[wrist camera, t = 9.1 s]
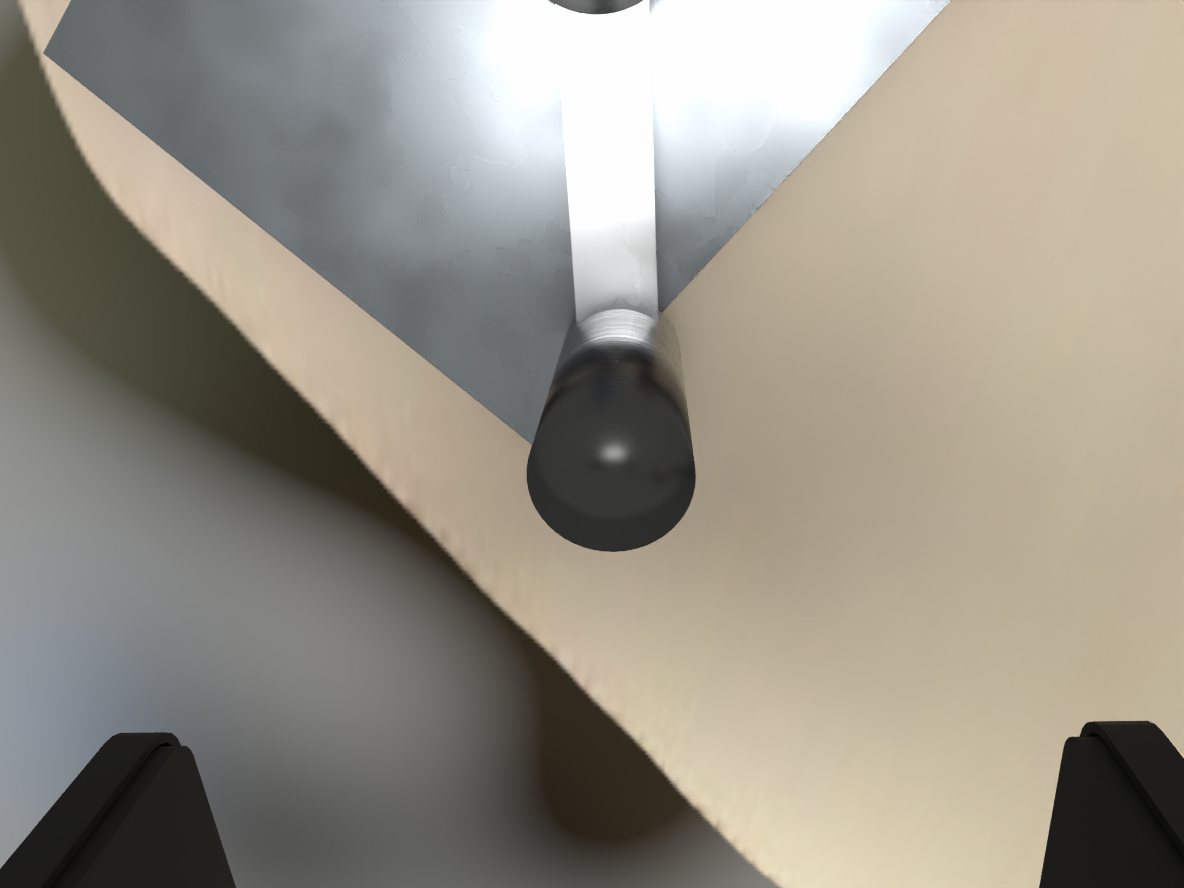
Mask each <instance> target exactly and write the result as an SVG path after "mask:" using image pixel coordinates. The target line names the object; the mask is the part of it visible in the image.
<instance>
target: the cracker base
mask: <svg viewBox="0 0 1184 888" xmlns="http://www.w3.org/2000/svg"><path fill="white" fill-rule="evenodd" d="M950 1H951V0H651V1H650V2H649V29H650V63H651V96H652V130H653V163H654V197H655V230H656V264H657V297H658V310H659V311H660V312H661V313H662V311H663V310H664V309H665V308H666V307H667V306H668V305H669V304H670V303H671V302H672V301H673V300H674V299H675V297H676V296H677V295H678V294H679V293H680V292H681V291H682V290H683V289H684V288H685V287H686V286H687V285H688V283H689V282H690V281H691V280H692V279H693V278H694V277H695V276H696V275H697V274H698V273H699V272H700V270H701V269H702V268H703V267H704V266H705V265H706V264H707V263H708V262H709V261H710V260H711V259H712V258H713V256H714V255H715V254H716V253H717V252H718V251H719V250H720V249H721V248H722V247H723V246H724V245H725V244H726V242H727V241H728V240H729V239H730V238H731V237H732V236H733V235H734V234H735V233H736V232H737V231H738V229H739V228H740V227H741V226H742V225H743V224H744V223H745V222H746V221H747V220H748V219H749V218H750V217H751V215H752V214H753V213H754V212H755V211H756V210H757V209H758V208H759V207H760V206H761V205H762V204H763V202H764V201H765V200H766V199H767V198H768V197H769V196H770V195H771V194H772V193H773V192H774V191H775V190H776V188H777V187H778V186H779V185H780V184H781V183H782V182H783V181H784V180H785V179H786V178H787V177H788V176H789V174H790V173H791V172H792V171H793V170H794V169H795V168H796V167H797V166H798V165H799V164H800V163H801V161H802V160H803V159H804V158H805V157H806V156H807V155H808V154H809V153H810V152H811V151H812V150H813V149H814V147H815V146H816V145H817V144H818V143H819V142H820V141H821V140H822V139H823V138H824V137H825V136H826V135H827V133H828V132H829V131H830V130H831V129H832V128H833V127H834V126H835V125H836V124H837V123H838V122H839V120H840V119H841V118H842V117H843V116H844V115H845V114H846V113H847V112H848V111H849V110H850V109H851V108H852V106H853V105H854V104H855V103H856V102H857V101H858V100H859V99H860V98H861V97H862V96H863V95H864V94H865V92H866V91H867V90H868V89H869V88H870V87H871V86H872V85H873V84H874V83H875V82H876V81H877V79H878V78H879V77H880V76H881V75H882V74H883V73H884V72H885V71H886V70H887V69H888V68H889V67H890V65H891V64H892V63H893V62H894V61H895V60H896V59H897V58H898V57H899V56H900V55H901V54H902V52H903V51H904V50H905V49H906V48H907V47H908V46H909V45H910V44H911V43H912V42H913V41H914V40H915V38H916V37H917V36H918V35H919V34H920V33H921V32H922V31H923V30H924V29H925V28H926V27H927V26H928V24H929V23H930V22H931V21H932V20H933V19H934V18H935V17H936V16H937V15H938V14H939V13H940V11H941V10H942V9H943V8H944V7H945V6H946V5H947V4H948V3H949V2H950ZM44 54H45V55H46V56H47V57H49V58H50V59H51V60H52V61H54V62H55V63H56V64H57V65H59V66H60V67H61V68H62V69H64V70H65V71H66V72H67V73H69V74H70V75H71V76H72V77H74V78H75V79H76V80H77V81H79V82H80V83H81V84H82V85H84V86H85V87H86V88H87V89H89V90H90V91H91V92H92V93H94V94H95V95H96V96H97V97H99V98H100V99H101V100H102V101H104V102H105V103H106V104H107V105H109V106H110V107H111V108H112V109H114V110H115V111H116V112H117V113H119V114H120V115H121V116H122V117H124V118H125V119H126V120H127V121H129V122H130V123H131V124H132V125H134V126H135V127H136V128H137V129H139V130H140V131H141V132H142V133H144V134H145V135H146V136H147V137H149V138H150V139H151V140H152V141H154V142H155V143H156V144H157V145H159V146H160V147H161V148H162V149H164V150H165V151H166V152H167V153H169V154H170V155H171V156H172V157H174V158H175V159H176V160H177V161H178V162H180V163H181V164H182V165H183V166H185V167H186V168H187V169H188V170H190V171H191V172H192V173H193V174H195V175H196V176H197V177H198V178H200V179H201V180H202V181H203V182H205V183H206V184H207V185H208V186H210V187H211V188H212V189H213V190H215V191H216V192H217V193H218V194H220V195H221V196H222V197H223V198H225V199H226V200H227V201H228V202H230V203H231V204H232V205H233V206H235V207H236V208H237V209H238V210H240V211H241V212H242V213H243V214H245V215H246V216H247V217H248V218H250V219H251V220H252V221H253V222H255V223H256V224H257V225H258V226H260V227H261V228H262V229H263V230H265V231H266V232H267V233H268V234H270V235H271V236H272V237H273V238H275V239H276V240H277V241H278V242H280V243H281V244H282V245H283V246H285V247H286V248H287V249H288V250H290V251H291V252H292V253H293V254H295V255H296V256H297V257H298V258H300V259H301V260H302V261H303V262H305V263H306V264H307V265H308V266H310V267H311V268H312V269H313V270H315V271H316V272H317V273H318V274H320V275H321V276H322V277H323V278H325V279H326V280H327V281H328V282H330V283H331V284H332V285H333V286H335V287H336V288H337V289H338V290H340V291H341V292H342V293H343V294H345V295H346V296H347V297H348V298H350V299H351V300H352V301H353V302H355V303H356V304H357V305H358V306H360V307H361V308H362V309H363V310H365V311H366V312H367V313H368V314H370V315H371V316H372V317H373V318H375V319H376V320H377V321H378V322H380V323H381V324H382V325H383V326H385V327H386V328H387V329H388V330H390V331H391V332H392V333H393V334H395V335H396V336H397V337H398V338H400V339H401V340H402V341H403V342H405V343H406V344H407V345H408V346H410V347H411V348H412V349H413V350H415V351H416V352H417V353H418V354H420V355H421V356H422V357H423V358H425V359H426V360H427V361H428V362H430V363H431V364H432V365H433V366H435V367H436V368H437V369H438V370H440V371H441V372H442V373H443V374H445V375H446V376H447V377H448V378H449V379H451V380H452V381H453V382H454V383H456V384H457V385H458V386H459V387H461V388H462V389H463V390H464V391H466V392H467V393H468V394H469V395H471V396H472V397H473V398H474V399H476V400H477V401H478V402H479V403H481V404H482V405H483V406H484V407H486V408H487V409H488V410H489V411H491V412H492V413H493V414H494V415H496V416H497V417H498V418H499V419H501V420H502V421H503V422H504V423H506V424H507V425H508V426H509V427H511V428H512V429H513V430H514V431H516V432H517V433H518V434H519V435H521V436H522V437H523V438H524V439H526V440H527V441H528V442H529V443H531V444H533V441H534V438H535V435H536V431H537V428H538V425H539V421H540V418H541V415H542V412H543V408H544V405H545V402H546V398H547V395H548V392H549V389H550V385H551V382H552V379H553V375H554V372H555V369H556V365H557V362H558V359H559V356H560V352H561V349H562V346H563V342H564V339H565V336H566V333H567V331H568V329H569V327H570V325H571V324H572V322H573V321H574V319H575V318H576V305H575V290H574V275H573V260H572V245H571V231H570V216H569V201H568V186H567V172H566V157H565V142H564V127H563V112H562V98H561V83H560V68H559V53H558V38H557V24H556V9H555V5H554V4H552V3H551V2H550V1H549V0H71V2H70V4H69V6H68V8H67V9H66V11H65V13H64V15H63V17H62V19H61V21H60V23H59V24H58V26H57V28H56V30H55V32H54V34H53V36H52V38H51V40H50V41H49V43H48V45H47V47H46V49H45V51H44Z"/></svg>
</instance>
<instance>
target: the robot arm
mask: <svg viewBox="0 0 1184 888" xmlns="http://www.w3.org/2000/svg"><path fill="white" fill-rule="evenodd" d="M0 888H236V887H235V883H234V880H233V877H232V874H231V871H230V868H229V865H228V862H227V859H226V855H225V852H224V849H223V846H222V843H221V840H220V837H219V834H218V830H217V828H216V824H215V821H214V818H213V815H212V812H211V809H210V806H209V802H208V799H207V796H206V793H205V790H204V787H203V784H202V780H201V778H200V774H199V771H198V768H197V765H196V762H195V759H194V755H193V753H192V752H191V750H190V749H189V748H188V747H187V746H181V745H180V743H179V741H178V739H177V737H175V736H174V735H173V734H172V733H165V732H164V733H119V734H116V735H114V736H112V737H111V738H110V739H109V740H108V741H107V742H106V743H105V744H104V745H103V746H102V747H101V748H100V750H99V751H98V752H97V753H96V754H95V756H94V757H93V758H92V759H91V760H90V762H89V763H88V764H87V765H86V766H85V768H84V769H83V770H82V771H81V772H80V774H79V775H78V776H77V777H76V779H75V780H74V781H73V782H72V783H71V784H70V786H69V787H68V788H67V789H66V790H65V792H64V793H63V794H62V795H61V797H60V798H59V799H58V800H57V801H56V803H55V804H54V805H53V806H52V807H51V809H50V810H49V811H48V812H47V813H46V815H45V816H44V817H43V818H42V819H41V821H40V822H39V823H38V824H37V825H36V827H35V828H34V829H33V830H32V832H31V833H30V834H29V835H28V836H27V837H26V839H25V840H24V841H23V842H22V843H21V845H20V846H19V847H18V848H17V849H16V851H15V852H14V853H13V854H12V855H11V857H10V858H9V859H8V860H7V861H6V863H5V864H4V865H3V866H2V868H1V869H0ZM1039 888H1184V758H1183V757H1182V756H1181V755H1180V753H1179V752H1178V751H1177V749H1176V748H1175V747H1174V746H1173V744H1172V743H1171V742H1170V740H1169V739H1168V738H1167V737H1166V735H1165V734H1164V733H1163V732H1162V731H1161V730H1160V729H1159V728H1158V727H1157V726H1156V725H1155V724H1153V723H1151V722H1149V721H1101V722H1088V723H1086V724H1085V725H1084V727H1083V728H1082V731H1081V734H1080V737H1069V738H1068V739H1067V740H1066V742H1065V745H1064V749H1063V755H1062V760H1061V766H1060V772H1059V778H1058V783H1057V789H1056V795H1055V800H1054V806H1053V812H1052V818H1051V823H1050V829H1049V835H1048V840H1047V846H1046V852H1045V858H1044V863H1043V869H1042V875H1041V881H1040V886H1039Z"/></svg>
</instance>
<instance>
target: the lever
mask: <svg viewBox="0 0 1184 888" xmlns="http://www.w3.org/2000/svg"><path fill="white" fill-rule="evenodd" d="M549 1H550V2H551V3H552V4H554V5H555V9H556V24H557V38H558V53H559V68H560V83H561V98H562V112H563V127H564V142H565V157H566V172H567V186H568V201H569V216H570V231H571V245H572V260H573V275H574V290H575V305H576V318H575V319H574V321H573V322H572V324H571V325H570V327H569V329H568V331H567V333H566V336H565V339H564V342H563V346H562V349H561V352H560V356H559V359H558V362H557V365H556V369H555V372H554V375H553V379H552V382H551V385H550V389H549V392H548V395H547V398H546V402H545V405H544V408H543V412H542V415H541V418H540V421H539V425H538V428H537V431H536V435H535V438H534V441H533V444H532V448H531V451H530V455H529V458H528V464H527V484H528V490H529V493H530V496H531V499H532V502H533V504H534V506H535V508H536V510H537V511H538V513H539V514H540V516H541V517H542V519H543V520H544V521H545V522H546V523H547V524H548V526H550V527H551V528H552V529H553V530H554V531H555V532H556V533H558V534H559V535H561V536H562V537H563V538H565V539H567V540H569V541H571V542H572V543H575V544H577V545H580V546H582V547H585V548H589V549H593V550H599V551H610V552H617V551H627V550H632V549H637V548H640V547H643V546H646V545H648V544H650V543H652V542H654V541H656V540H658V539H659V538H661V537H663V536H664V535H665V534H667V533H668V532H669V531H670V530H672V529H673V528H674V527H675V525H676V524H677V523H678V522H679V521H680V520H681V518H682V517H683V516H684V514H685V512H686V511H687V509H688V507H689V505H690V502H691V499H692V497H693V493H694V488H695V477H696V475H695V464H694V456H693V449H692V441H691V433H690V426H689V418H688V410H687V403H686V395H685V388H684V380H683V372H682V365H681V357H680V349H679V343H678V339H677V336H676V333H675V331H674V329H673V327H672V325H671V323H670V322H669V321H668V319H667V318H666V317H665V316H664V315H663V314H662V313H661V312H660V311H659V310H658V297H657V264H656V230H655V197H654V163H653V130H652V96H651V63H650V29H649V2H650V1H651V0H549Z"/></svg>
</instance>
